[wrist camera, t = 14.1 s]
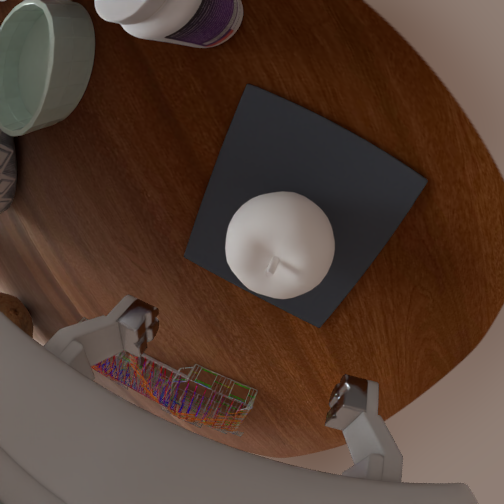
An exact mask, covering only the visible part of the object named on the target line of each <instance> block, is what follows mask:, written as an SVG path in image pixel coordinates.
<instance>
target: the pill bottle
mask: <svg viewBox="0 0 504 504" xmlns="http://www.w3.org/2000/svg"><path fill="white" fill-rule="evenodd" d="M95 8H96V11H97V13H98V15H99V16H100V17H101V18H102V19H104V20H106V21H109V22H114V23H119V24H121V26H122V27H123V29H124V30H125V31H126V32H128V33H129V34H131V35H133V36H135V37H138V38H142V39H147V40H154V41H161V42H167V43H174V44H179V45H185V46H190V47H196V48H209V47H214V46H217V45H219V44H222V43H223V42H225V41H227V40H228V39H229V38H231V37H232V36H233V35H234V34H235V32H236V31H237V30H238V28H239V26H240V24H241V22H242V18H243V6H242V2H241V0H95Z"/></svg>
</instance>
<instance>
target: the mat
mask: <svg viewBox="0 0 504 504" xmlns="http://www.w3.org/2000/svg"><path fill="white" fill-rule="evenodd" d="M427 182H428V180H427V179H426V178H424V177H423V176H421V175H420V174H419V173H417V172H416V171H414V170H413V169H411V168H410V167H408V166H407V165H405V164H404V163H402V162H401V161H399V160H398V159H396V158H394V157H393V156H391V155H390V154H388V153H386V152H385V151H383V150H382V149H380V148H378V147H377V146H375V145H373V144H372V143H370V142H368V141H366V140H365V139H363V138H361V137H359V136H358V135H356V134H354V133H352V132H351V131H349V130H347V129H345V128H343V127H341V126H340V125H338V124H336V123H334V122H332V121H330V120H328V119H326V118H324V117H322V116H320V115H318V114H316V113H314V112H312V111H310V110H308V109H306V108H304V107H302V106H300V105H298V104H295V103H293V102H291V101H289V100H287V99H284V98H282V97H280V96H278V95H275V94H273V93H271V92H268V91H266V90H263V89H261V88H259V87H256V86H254V85H251V84H247V85H246V88H245V90H244V92H243V95H242V97H241V100H240V102H239V105H238V107H237V109H236V112H235V114H234V117H233V119H232V122H231V124H230V127H229V129H228V132H227V135H226V137H225V140H224V142H223V145H222V148H221V150H220V153H219V156H218V158H217V161H216V164H215V166H214V169H213V172H212V175H211V177H210V180H209V183H208V186H207V188H206V191H205V194H204V197H203V200H202V203H201V206H200V209H199V212H198V214H197V217H196V220H195V223H194V226H193V229H192V232H191V236H190V239H189V242H188V245H187V248H186V251H185V254H184V258H186V259H188V260H190V261H192V262H194V263H195V264H197V265H199V266H201V267H203V268H205V269H206V270H208V271H210V272H212V273H214V274H216V275H218V276H219V277H221V278H223V279H225V280H227V281H229V282H231V283H233V284H234V285H236V286H238V287H240V288H242V289H244V290H246V291H248V292H250V293H251V294H253V295H255V296H257V297H259V298H261V299H263V300H265V301H267V302H269V303H271V304H273V305H275V306H277V307H279V308H280V309H282V310H284V311H286V312H288V313H290V314H292V315H294V316H296V317H298V318H300V319H302V320H304V321H306V322H308V323H310V324H312V325H314V326H316V327H318V328H320V327H321V326H322V325H323V323H324V322H325V321H326V320H327V319H328V317H329V316H330V315H331V314H332V313H333V311H334V310H335V309H336V308H337V307H338V305H339V304H340V303H341V302H342V300H343V299H344V298H345V297H346V296H347V294H348V293H349V292H350V291H351V289H352V288H353V287H354V285H355V284H356V283H357V282H358V280H359V279H360V278H361V276H362V275H363V274H364V273H365V271H366V270H367V269H368V267H369V266H370V265H371V263H372V262H373V261H374V259H375V258H376V257H377V255H378V254H379V253H380V251H381V250H382V248H383V247H384V246H385V244H386V243H387V242H388V240H389V239H390V237H391V236H392V234H393V233H394V232H395V230H396V229H397V227H398V226H399V224H400V223H401V222H402V220H403V219H404V217H405V216H406V214H407V213H408V211H409V210H410V208H411V207H412V205H413V204H414V202H415V201H416V199H417V198H418V196H419V194H420V193H421V191H422V190H423V188H424V187H425V185H426V183H427ZM282 191H284V192H295V193H297V194H300V195H302V196H305V197H306V198H308V199H309V200H311V201H312V202H314V203H315V204H316V205H317V206H318V207H320V208H321V209H322V211H323V212H324V213H325V215H326V216H327V217H328V219H329V222H330V224H331V227H332V230H333V235H334V240H335V252H334V257H333V261H332V264H331V266H330V268H329V270H328V272H327V274H326V276H325V277H324V278H323V280H322V281H321V282H320V284H319V285H317V286H316V287H315V288H313V289H312V290H310V291H308V292H306V293H304V294H301V295H299V296H296V297H293V298H288V299H277V298H272V297H268V296H265V295H262V294H258V293H256V292H254V291H252V290H249V289H248V288H247V287H246V286H245V285H244V284H243V283H242V282H241V281H240V280H239V279H238V278H237V276H236V275H235V274H234V273H233V271H232V270H231V268H230V267H229V265H228V263H227V259H226V251H225V245H226V234H227V230H228V226H229V223H230V221H231V219H232V217H233V215H234V214H235V213H236V212H237V211H238V209H239V208H240V207H241V206H242V205H243V204H245V203H246V202H247V201H249V200H250V199H252V198H254V197H257V196H259V195H263V194H268V193H273V192H282Z"/></svg>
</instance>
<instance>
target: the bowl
mask: <svg viewBox="0 0 504 504" xmlns="http://www.w3.org/2000/svg"><path fill="white" fill-rule="evenodd" d="M0 311H1V312H2V313H3V314H4V315H5V316H6V317H8V318H9V319H10V320H11V321H12V322H13V323H14V324H16V325H17V326H18V327H19V328H20V329H22V330H23V331H24V332H25V333H27V334H28V335H29V336H30V337H32V338H33V322H32V317H31V316H30V313H29V312H28V310H27V308H26V307H25V306H24V305H23V303H22V302H21V301H20V300H19V299H18V298H17V297H14V296H11V295H9V294H5V293H0Z"/></svg>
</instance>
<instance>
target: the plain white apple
mask: <svg viewBox="0 0 504 504" xmlns="http://www.w3.org/2000/svg"><path fill="white" fill-rule="evenodd" d="M225 251H226V259H227V263H228V265H229V267H230V268H231V270H232V271H233V273H234V274H235V275H236V276H237V278H238V279H239V280H240V281H241V282H242V283H243V284H244V285H245V286H246V287H247V288H248V289H249V290H252V291H254V292H256V293H258V294H262V295H265V296H268V297H272V298H277V299H288V298H293V297H296V296H299V295H301V294H304V293H306V292H308V291H310V290H312V289H313V288H315V287H316V286H317V285H319V284H320V282H321V281H322V280H323V278H324V277H325V276H326V274H327V272H328V270H329V268H330V266H331V264H332V261H333V257H334V252H335V240H334V235H333V230H332V227H331V224H330V222H329V219H328V217H327V216H326V215H325V213H324V212H323V211H322V209H321V208H320V207H318V206H317V205H316V204H315V203H314V202H312V201H311V200H309V199H308V198H306V197H305V196H302V195H300V194H297V193H295V192H284V191H282V192H273V193H268V194H263V195H259V196H257V197H254V198H252V199H250V200H249V201H247V202H246V203H245V204H243V205H242V206H241V207H240V208H239V209H238V211H237V212H236V213H235V214H234V215H233V217H232V219H231V221H230V223H229V226H228V230H227V234H226V245H225Z"/></svg>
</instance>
